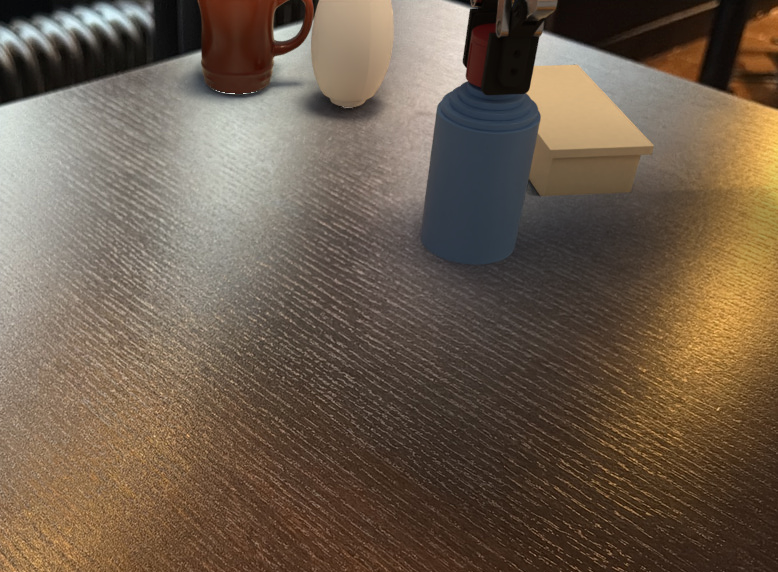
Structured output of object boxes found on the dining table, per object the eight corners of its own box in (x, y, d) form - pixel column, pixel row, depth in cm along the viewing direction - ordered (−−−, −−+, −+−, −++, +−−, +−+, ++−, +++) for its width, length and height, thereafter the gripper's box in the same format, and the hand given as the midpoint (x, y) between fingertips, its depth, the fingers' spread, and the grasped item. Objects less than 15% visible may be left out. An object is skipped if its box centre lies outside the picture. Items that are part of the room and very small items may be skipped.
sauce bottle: (371, 126, 97) (388, -73, 85) (296, 112, 99) (304, -83, 88) (396, 97, 102) (416, -94, 91) (325, 84, 105) (336, -103, 93)
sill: (567, 114, 99) (577, 64, 96) (639, 200, 85) (654, 145, 82) (480, 117, 99) (488, 67, 95) (538, 204, 85) (550, 149, 82)
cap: (473, 91, 67) (480, 44, 65) (458, 69, 70) (464, 23, 68) (531, 89, 67) (540, 42, 65) (513, 67, 71) (521, 22, 69)
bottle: (496, 233, 81) (535, 20, 70) (523, 281, 75) (570, 58, 65) (408, 237, 80) (435, 23, 70) (429, 285, 75) (461, 61, 64)
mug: (195, 102, 101) (192, -3, 95) (195, 69, 108) (193, -30, 101) (313, 101, 101) (318, -3, 95) (306, 68, 108) (311, -31, 102)
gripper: (445, -251, 63) (413, 38, 75) (527, -208, 51) (473, 133, 62) (560, -252, 64) (511, 35, 76) (669, -210, 51) (590, 128, 63)
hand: (494, 76), depth 69 cm, fingers closed on cap, 3 cm apart
